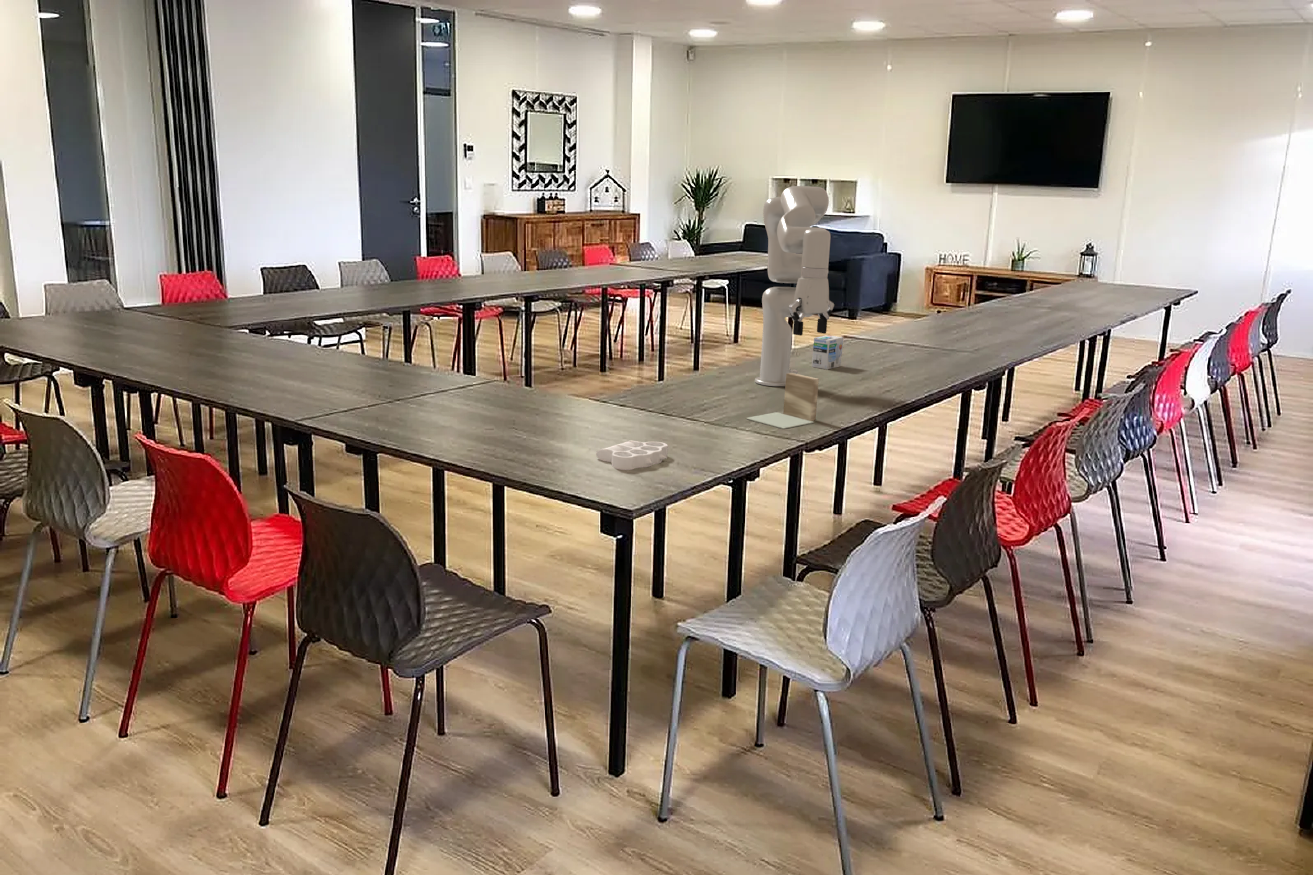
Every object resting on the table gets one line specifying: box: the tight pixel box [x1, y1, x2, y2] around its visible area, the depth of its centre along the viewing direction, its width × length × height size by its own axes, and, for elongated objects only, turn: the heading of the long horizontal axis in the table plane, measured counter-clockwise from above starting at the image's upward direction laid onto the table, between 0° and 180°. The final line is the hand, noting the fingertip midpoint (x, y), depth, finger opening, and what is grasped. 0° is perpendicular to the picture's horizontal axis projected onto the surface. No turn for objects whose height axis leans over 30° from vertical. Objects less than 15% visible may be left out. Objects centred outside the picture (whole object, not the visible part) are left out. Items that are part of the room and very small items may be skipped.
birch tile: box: [782, 373, 820, 422], centre depth 303 cm, size 2×10×12 cm, turn 43°
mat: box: [745, 411, 815, 430], centre depth 298 cm, size 13×14×1 cm
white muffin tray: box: [595, 440, 669, 471], centre depth 253 cm, size 3×18×15 cm
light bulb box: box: [811, 334, 844, 370], centre depth 383 cm, size 11×7×11 cm, turn 143°
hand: (809, 333), depth 304 cm, fingers open, 9 cm apart
